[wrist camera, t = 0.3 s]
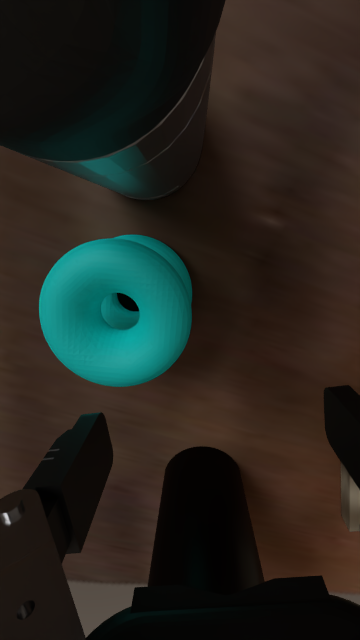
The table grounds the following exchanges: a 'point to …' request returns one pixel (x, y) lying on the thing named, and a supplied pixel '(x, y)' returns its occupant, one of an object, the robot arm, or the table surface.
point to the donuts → (117, 309)
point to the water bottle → (204, 526)
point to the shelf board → (350, 501)
